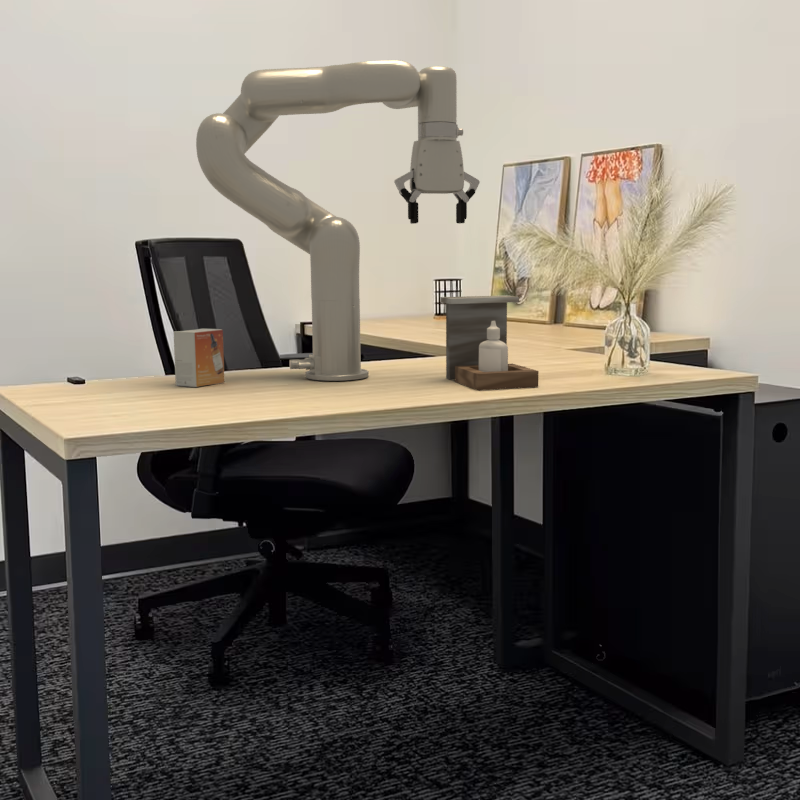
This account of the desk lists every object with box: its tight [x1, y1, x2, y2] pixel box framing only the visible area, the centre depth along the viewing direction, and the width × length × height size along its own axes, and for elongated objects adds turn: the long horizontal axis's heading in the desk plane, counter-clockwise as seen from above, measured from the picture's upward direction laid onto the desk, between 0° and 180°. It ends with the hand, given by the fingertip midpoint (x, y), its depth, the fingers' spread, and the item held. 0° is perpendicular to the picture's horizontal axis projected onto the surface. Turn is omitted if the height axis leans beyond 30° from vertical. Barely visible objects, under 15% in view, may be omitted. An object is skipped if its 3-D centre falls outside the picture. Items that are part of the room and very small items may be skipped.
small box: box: [173, 327, 225, 388], centre depth 186 cm, size 8×6×10 cm
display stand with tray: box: [440, 294, 540, 391], centre depth 184 cm, size 18×14×16 cm
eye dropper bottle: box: [479, 321, 509, 372], centre depth 181 cm, size 4×6×12 cm
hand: (437, 223), depth 191 cm, fingers open, 9 cm apart
